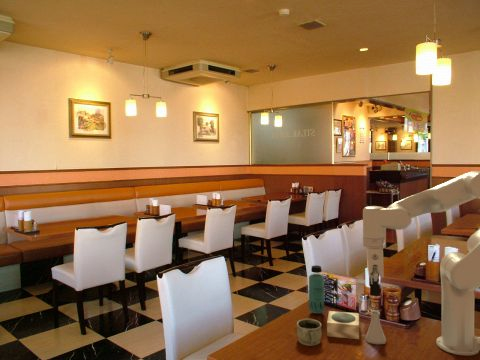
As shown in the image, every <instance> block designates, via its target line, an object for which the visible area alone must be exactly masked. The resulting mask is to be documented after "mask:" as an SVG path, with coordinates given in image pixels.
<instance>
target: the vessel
mask: <svg viewBox="0 0 480 360" xmlns="http://www.w3.org/2000/svg"><path fill="white" fill-rule="evenodd" d="M296 329H297V331H296V336H297V338H298V342H299V343H300V344H301V345H304V346H309V347H310V346H311V347H312V346H316V345H319V344H320V343H321V338H322V335H323V334H322V333H323V332H322V323H321V322H320V321H319V320H317V319H313V318H303V319H299V320H298V321H297V322H296Z"/></svg>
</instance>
